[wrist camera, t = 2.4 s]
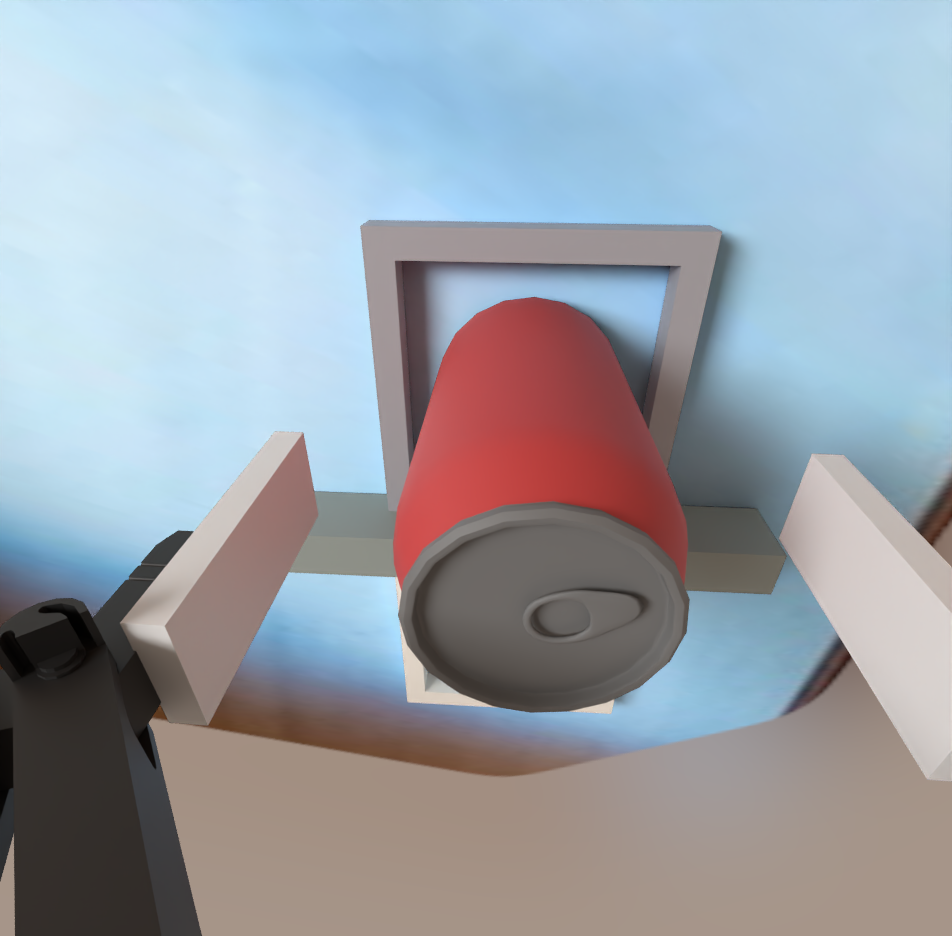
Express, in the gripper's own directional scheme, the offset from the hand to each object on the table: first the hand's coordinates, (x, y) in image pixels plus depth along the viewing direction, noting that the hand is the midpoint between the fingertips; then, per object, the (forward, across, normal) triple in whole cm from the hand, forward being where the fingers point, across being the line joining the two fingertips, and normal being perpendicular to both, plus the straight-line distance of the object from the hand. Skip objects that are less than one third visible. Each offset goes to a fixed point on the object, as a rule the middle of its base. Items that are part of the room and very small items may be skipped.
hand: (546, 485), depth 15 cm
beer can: (+7, 0, 0) cm, 7 cm away
